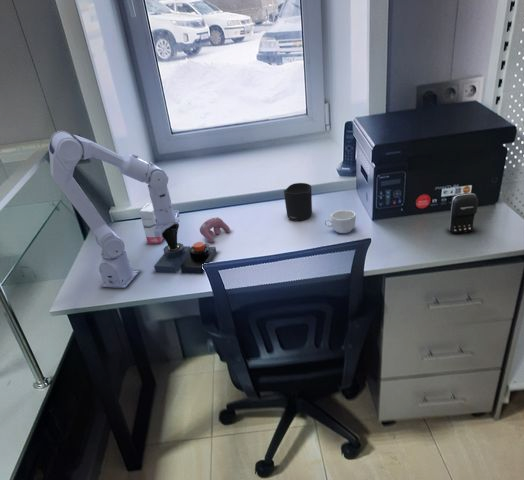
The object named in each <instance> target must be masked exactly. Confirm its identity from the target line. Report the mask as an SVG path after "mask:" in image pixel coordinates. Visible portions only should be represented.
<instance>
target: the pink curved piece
mask: <svg viewBox="0 0 524 480" xmlns="http://www.w3.org/2000/svg"><path fill="white" fill-rule="evenodd" d="M221 229H222V230H223V231H224V232H226V233H230V232H231V228H230V227H229V225H228V224H227V223H226V222H225V221H224V220H223V219H222V218H220V217H218V216H216V217H212V218H209V219H207V220H206V221H204V222H203V223H202V224H201V226H199V233H200V234H201V236H203V238H204V239H205V240H206V241H207V242H209V243H214V240H215V239H214V237H215V235H219V234H220V233H221Z"/></svg>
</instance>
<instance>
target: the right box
mask: <svg viewBox="0 0 524 480" xmlns="http://www.w3.org/2000/svg"><path fill="white" fill-rule="evenodd" d="M204 245H205V250H203V251H200V252H195V251H194V248H193V245H192V246H190V249H189V252H190V255H189V256H188V257H187V259H186V260H185V261H184V263H183V264H182V265H181V267H180V268H179V269H180V271H181V274H199V275H201V274H202V275H203V274H204V273H205V271H204V270H203V269H202V264H204V263H209V262H210V263H211V262H212V260H213V259H214V258H215V256H216V255H217V253H218V252H217V247H216V246H210V244H208V243H204Z"/></svg>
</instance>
